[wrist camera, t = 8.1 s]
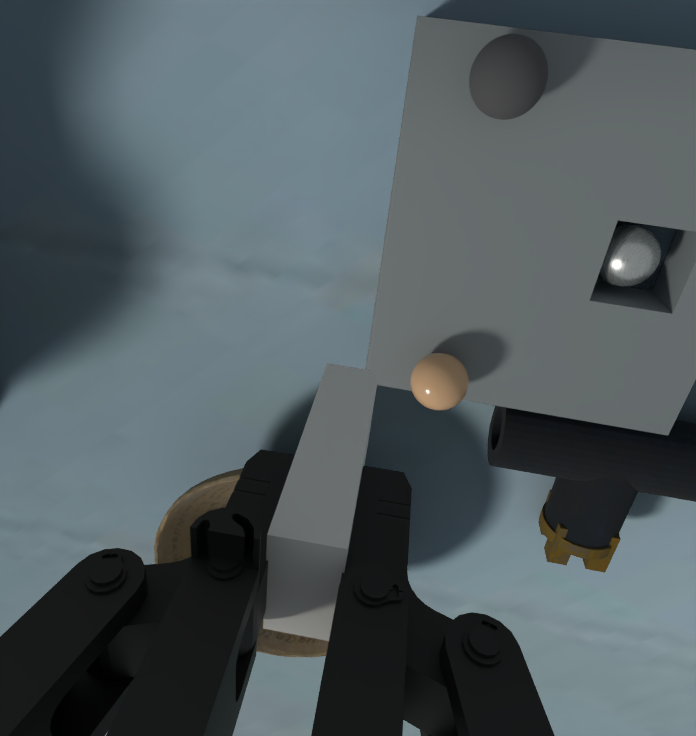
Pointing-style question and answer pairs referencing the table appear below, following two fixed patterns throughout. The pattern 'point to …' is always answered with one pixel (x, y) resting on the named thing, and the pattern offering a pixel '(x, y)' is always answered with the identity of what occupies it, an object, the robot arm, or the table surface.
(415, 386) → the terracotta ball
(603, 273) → the steel ball
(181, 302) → the table surface
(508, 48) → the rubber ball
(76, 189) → the table surface
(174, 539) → the bowl
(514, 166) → the slate board
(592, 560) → the pipe connector
